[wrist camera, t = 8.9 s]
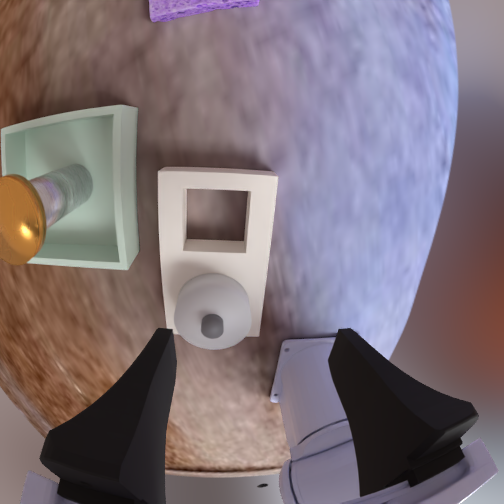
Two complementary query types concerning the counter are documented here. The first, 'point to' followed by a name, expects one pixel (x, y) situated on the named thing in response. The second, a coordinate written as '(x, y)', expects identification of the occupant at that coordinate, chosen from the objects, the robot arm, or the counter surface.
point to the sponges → (191, 7)
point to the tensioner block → (214, 258)
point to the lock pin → (37, 208)
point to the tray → (103, 175)
